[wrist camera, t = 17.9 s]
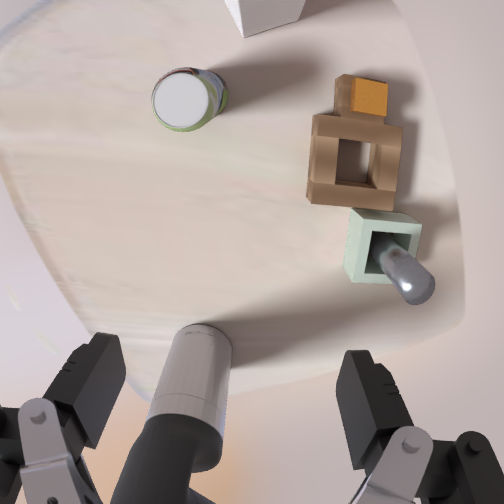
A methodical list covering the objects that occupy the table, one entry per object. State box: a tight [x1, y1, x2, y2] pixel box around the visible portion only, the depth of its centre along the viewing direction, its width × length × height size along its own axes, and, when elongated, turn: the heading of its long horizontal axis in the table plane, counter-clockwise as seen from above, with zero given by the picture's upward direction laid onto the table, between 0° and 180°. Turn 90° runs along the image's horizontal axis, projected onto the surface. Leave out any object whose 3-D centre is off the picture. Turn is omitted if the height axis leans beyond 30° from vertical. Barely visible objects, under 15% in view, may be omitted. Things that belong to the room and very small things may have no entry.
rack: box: [343, 208, 422, 284], centre depth 38 cm, size 8×8×5 cm
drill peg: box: [368, 231, 435, 305], centre depth 34 cm, size 4×4×14 cm
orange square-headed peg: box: [350, 78, 388, 117], centre depth 31 cm, size 4×4×6 cm
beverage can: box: [152, 67, 228, 132], centre depth 29 cm, size 6×7×12 cm
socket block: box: [306, 74, 403, 211], centre depth 34 cm, size 15×10×4 cm, turn 177°
